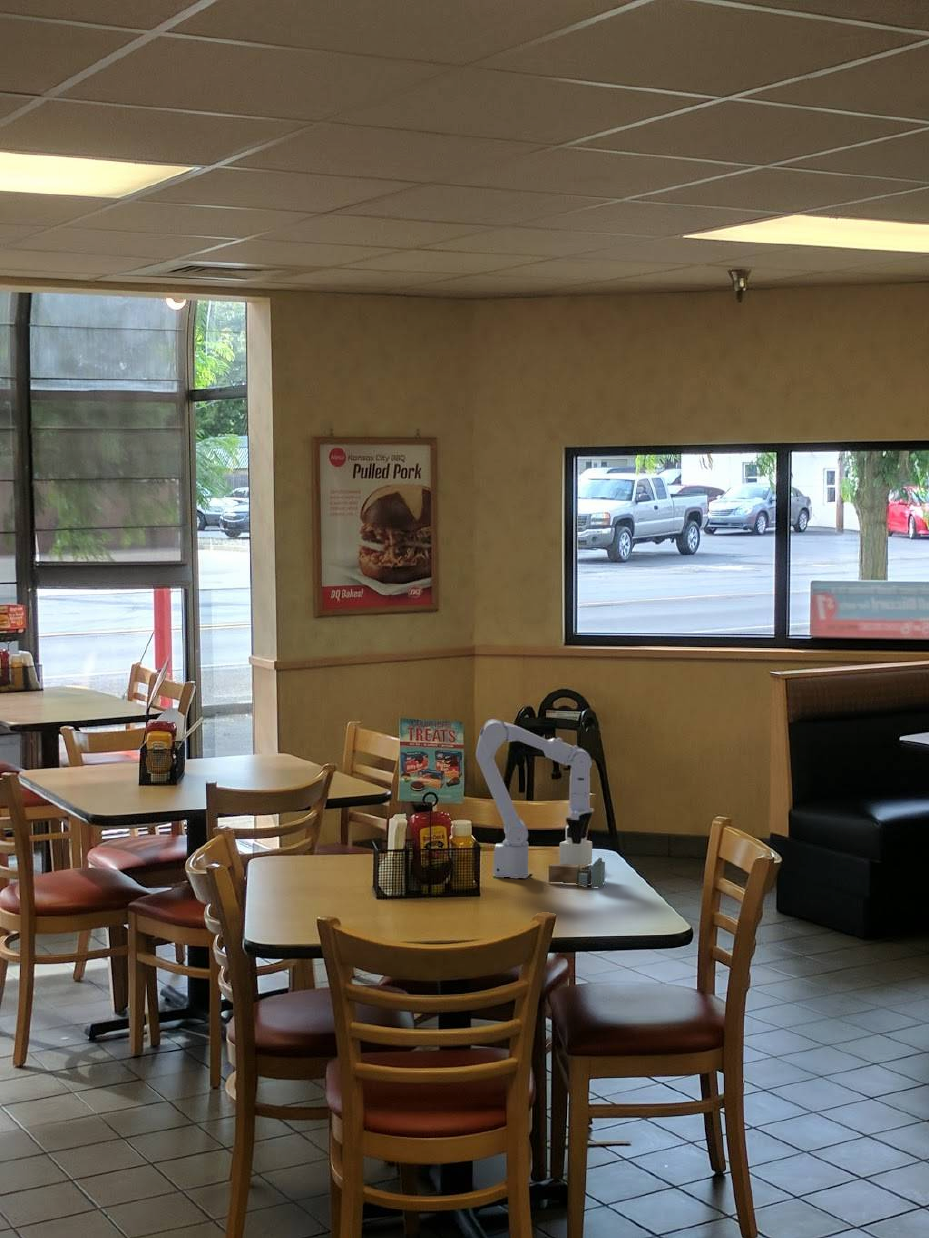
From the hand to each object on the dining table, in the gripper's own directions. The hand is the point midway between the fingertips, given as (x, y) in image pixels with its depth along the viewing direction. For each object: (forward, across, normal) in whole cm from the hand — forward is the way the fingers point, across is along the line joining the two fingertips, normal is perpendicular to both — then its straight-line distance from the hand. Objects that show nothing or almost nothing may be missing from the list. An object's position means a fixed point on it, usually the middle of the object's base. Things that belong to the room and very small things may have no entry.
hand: (578, 840), depth 407 cm
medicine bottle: (+10, +12, +3) cm, 16 cm away
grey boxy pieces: (+10, -10, -5) cm, 15 cm away
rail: (+10, -10, 0) cm, 14 cm away
